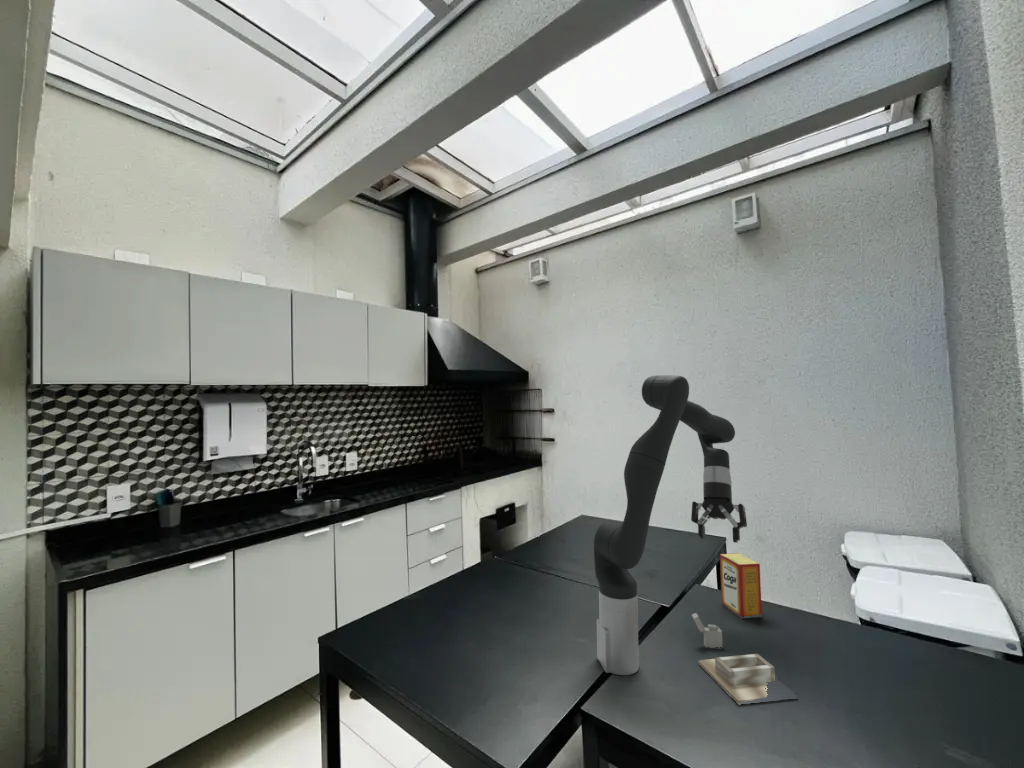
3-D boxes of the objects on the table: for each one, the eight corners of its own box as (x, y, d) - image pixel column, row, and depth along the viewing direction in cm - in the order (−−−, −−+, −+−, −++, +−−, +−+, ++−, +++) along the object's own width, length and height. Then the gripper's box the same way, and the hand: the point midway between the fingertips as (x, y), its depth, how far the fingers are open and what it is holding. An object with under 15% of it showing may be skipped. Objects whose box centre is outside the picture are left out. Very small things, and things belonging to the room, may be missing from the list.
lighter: (719, 644, 107) (718, 613, 108) (722, 648, 106) (721, 616, 106) (692, 643, 108) (691, 612, 109) (694, 647, 106) (693, 615, 107)
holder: (738, 705, 85) (737, 685, 85) (698, 664, 99) (697, 647, 99) (797, 699, 87) (796, 679, 87) (750, 659, 101) (749, 642, 101)
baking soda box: (721, 604, 130) (719, 552, 131) (740, 602, 131) (738, 551, 132) (741, 619, 121) (739, 563, 122) (761, 617, 121) (759, 562, 122)
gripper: (688, 480, 124) (688, 535, 117) (740, 481, 115) (743, 541, 108) (696, 486, 129) (696, 540, 122) (746, 487, 120) (750, 545, 113)
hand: (718, 540), depth 115 cm, fingers open, 8 cm apart
